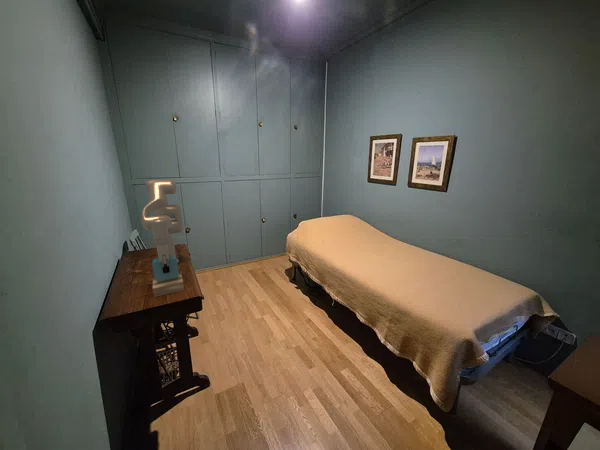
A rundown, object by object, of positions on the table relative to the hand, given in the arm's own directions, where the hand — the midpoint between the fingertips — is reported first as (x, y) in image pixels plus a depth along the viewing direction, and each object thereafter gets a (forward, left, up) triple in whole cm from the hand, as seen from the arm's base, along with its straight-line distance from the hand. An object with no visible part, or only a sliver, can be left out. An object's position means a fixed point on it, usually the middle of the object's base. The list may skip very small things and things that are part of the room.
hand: (166, 270), depth 135 cm
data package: (0, 0, -5) cm, 5 cm away
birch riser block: (0, 0, -11) cm, 11 cm away
